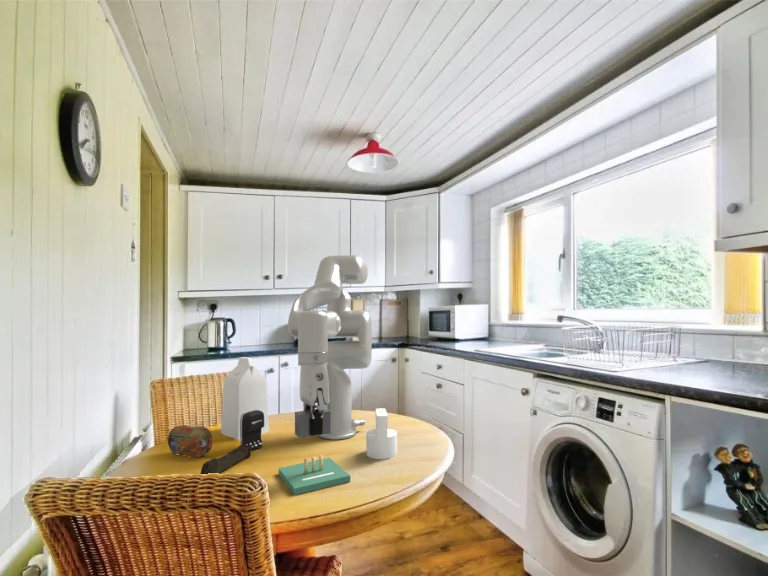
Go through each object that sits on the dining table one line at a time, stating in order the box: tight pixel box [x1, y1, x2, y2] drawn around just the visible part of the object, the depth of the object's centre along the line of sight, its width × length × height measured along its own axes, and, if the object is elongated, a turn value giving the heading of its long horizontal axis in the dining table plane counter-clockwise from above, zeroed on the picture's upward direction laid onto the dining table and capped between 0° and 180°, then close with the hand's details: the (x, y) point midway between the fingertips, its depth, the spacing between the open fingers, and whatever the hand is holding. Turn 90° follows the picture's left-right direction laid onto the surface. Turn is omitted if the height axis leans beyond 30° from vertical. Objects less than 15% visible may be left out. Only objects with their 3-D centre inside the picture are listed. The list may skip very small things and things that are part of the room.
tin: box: [167, 424, 213, 458], centre depth 118 cm, size 15×3×8 cm, turn 70°
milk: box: [220, 356, 270, 441], centre depth 140 cm, size 12×12×26 cm
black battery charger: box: [240, 410, 264, 452], centre depth 123 cm, size 7×4×11 cm, turn 146°
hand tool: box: [200, 444, 252, 474], centre depth 107 cm, size 19×4×5 cm, turn 164°
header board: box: [278, 454, 351, 496], centre depth 101 cm, size 14×14×5 cm
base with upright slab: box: [365, 407, 398, 460], centre depth 117 cm, size 9×9×12 cm
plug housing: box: [294, 409, 330, 439], centre depth 101 cm, size 8×4×6 cm, turn 119°
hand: (312, 431), depth 101 cm, fingers closed on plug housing, 4 cm apart
